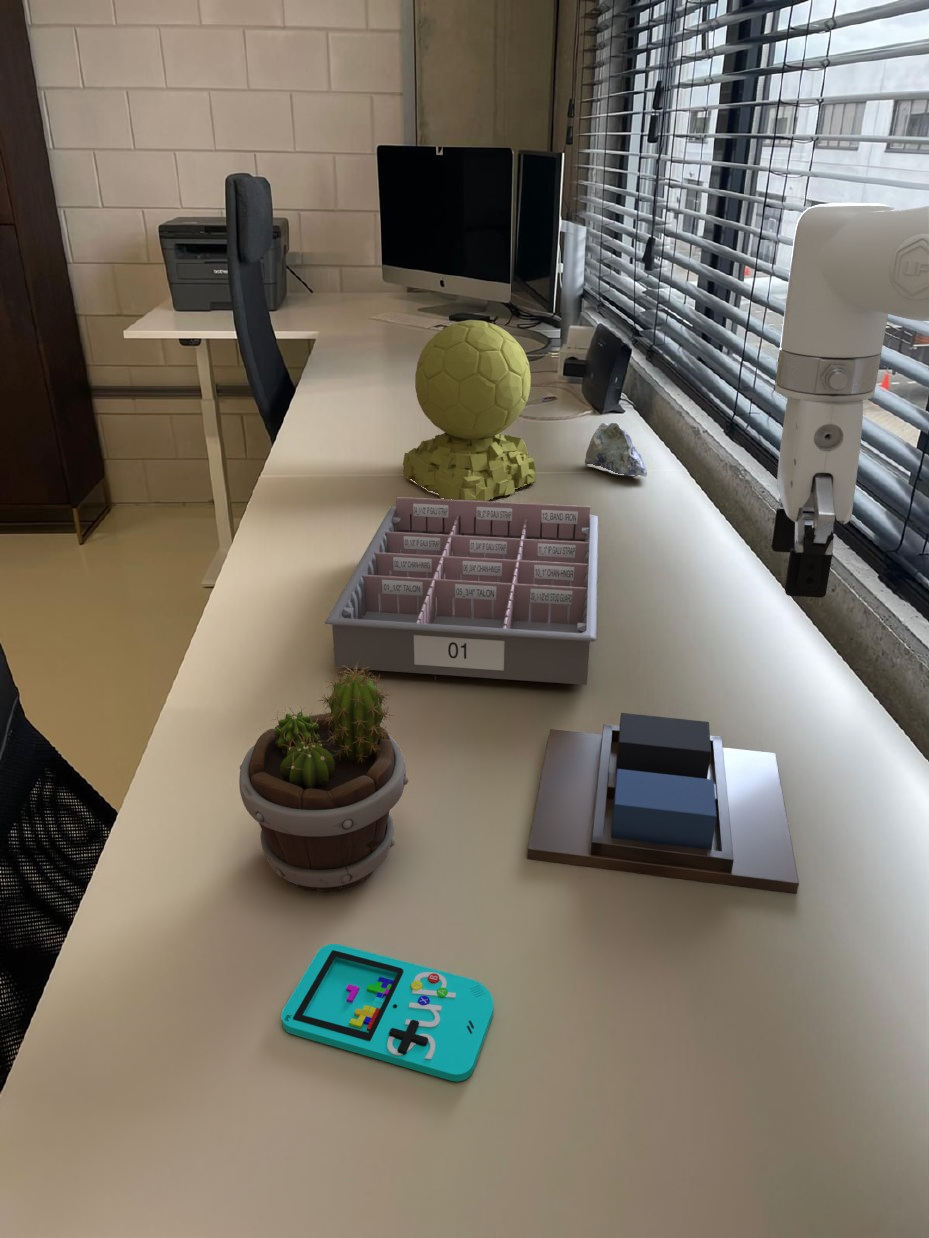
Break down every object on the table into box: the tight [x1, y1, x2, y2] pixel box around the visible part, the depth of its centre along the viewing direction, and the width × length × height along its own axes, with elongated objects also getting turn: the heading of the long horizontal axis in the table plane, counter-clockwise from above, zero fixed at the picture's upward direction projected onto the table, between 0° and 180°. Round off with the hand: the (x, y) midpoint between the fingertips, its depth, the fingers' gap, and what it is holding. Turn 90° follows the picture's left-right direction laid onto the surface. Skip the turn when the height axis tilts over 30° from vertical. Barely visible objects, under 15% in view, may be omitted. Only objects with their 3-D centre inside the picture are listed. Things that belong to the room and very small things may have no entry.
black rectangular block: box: [616, 712, 711, 779], centre depth 97 cm, size 9×6×4 cm, turn 79°
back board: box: [526, 723, 800, 894], centre depth 93 cm, size 24×20×3 cm
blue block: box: [611, 769, 717, 850], centre depth 88 cm, size 9×6×4 cm, turn 79°
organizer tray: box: [324, 496, 599, 686], centre depth 129 cm, size 32×40×10 cm
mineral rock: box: [584, 422, 648, 478], centre depth 183 cm, size 13×11×10 cm
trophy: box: [402, 319, 537, 501], centre depth 174 cm, size 22×22×30 cm
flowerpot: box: [238, 659, 409, 892], centre depth 83 cm, size 14×15×20 cm
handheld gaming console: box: [280, 943, 494, 1082], centre depth 72 cm, size 8×1×15 cm
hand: (796, 572), depth 82 cm, fingers open, 9 cm apart
